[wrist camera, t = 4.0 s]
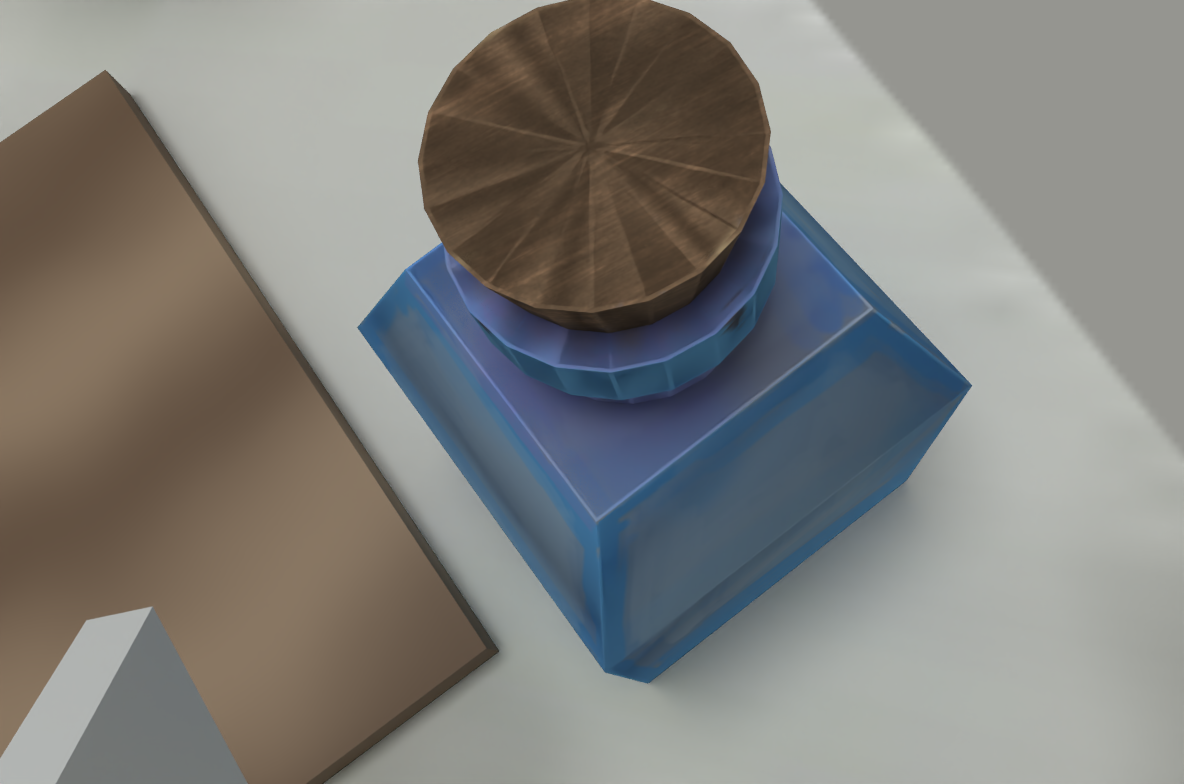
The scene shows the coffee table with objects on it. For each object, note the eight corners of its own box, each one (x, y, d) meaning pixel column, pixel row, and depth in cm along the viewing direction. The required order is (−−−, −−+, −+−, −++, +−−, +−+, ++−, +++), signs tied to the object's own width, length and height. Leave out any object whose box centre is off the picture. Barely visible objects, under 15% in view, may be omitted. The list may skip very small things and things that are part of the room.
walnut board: (-374, 443, 24) (-421, 432, 23) (130, 94, 25) (105, 70, 24) (-121, 1115, 19) (-166, 1136, 18) (499, 651, 20) (486, 648, 19)
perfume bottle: (702, 251, 22) (653, -244, 11) (905, 480, 20) (1116, 178, 9) (463, 432, 21) (145, 119, 10) (648, 683, 20) (508, 647, 8)
